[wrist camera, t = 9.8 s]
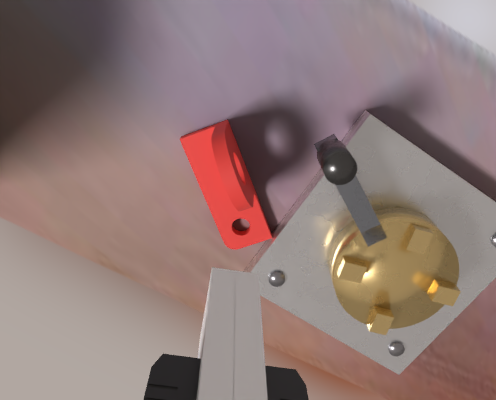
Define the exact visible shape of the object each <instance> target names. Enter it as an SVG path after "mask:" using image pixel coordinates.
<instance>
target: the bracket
mask: <svg viewBox="0 0 496 400" xmlns="http://www.w3.org/2000/svg"><path fill="white" fill-rule="evenodd" d="M180 141H181V143H182V146H183V148H184V150H185V153H186V155H187V157H188V160H189V162H190V164H191V167H192V169H193V171H194V174H195V176H196V178H197V181H198V183H199V185H200V188H201V190H202V192H203V195H204V197H205V199H206V202H207V204H208V206H209V209H210V211H211V213H212V216H213V218H214V220H215V223H216V225H217V227H218V230H219V232H220V234H221V237H222V239H223V241H224V243H225V245H226V246H227V247H228V248H231V249H240V248H243V247H246V246H249V245H252V244H255V243H258V242H261V241H265V240H268V239H271V238H272V233H271V230H270V228H269V225H268V223H267V220H266V217H265V215H264V212H263V210H262V207H261V204H260V202H259V199H258V197H257V194H256V191H255V189H254V186H253V184H252V181H251V178H250V176H249V173H248V171H247V168H246V166H245V163H244V160H243V158H242V155H241V153H240V150H239V147H238V145H237V142H236V140H235V137H234V134H233V132H232V129H231V127H230V124H229V121H228V120H225V121H223V122H220V123H217V124H214V125H212V126H209V127H206V128H203V129H201V130H198V131H195V132H192V133H190V134H187V135H184V136H181V138H180ZM240 218H242V219H246V220H247V221H248V222H249V223H250V227H249V228H248V229H247V230H245V231H238V230H236V229H235V228H234V227H233V225H232V223H233V222H234V221H235V220H236V219H240Z"/></svg>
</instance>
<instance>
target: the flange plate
mask: <svg viewBox="0 0 496 400" xmlns="http://www.w3.org/2000/svg"><path fill="white" fill-rule="evenodd" d="M341 142H342V143H343V144H344V145H345V146H346V148H347V149H348V151H349V152H350V154H351V155H352V156H353V158H354V159H355V161H356V163H357V173H356V177H357V179H358V181H359V183H360V185H361V187H362V189H363V190H364V192H365V194H366V196H367V198H368V200H369V202H370V204H371V206H372V208H373V210H376V209H381V208H389V207H398V208H406V209H410V210H413V211H416V212H418V213H420V214H422V215H424V216H426V217H427V218H429V219H430V220H431V221H432V222H433V223H434V224H435V225H436V226H437V227H438V228H439V229H440V231H441V232H442V233H443V234H444V235H445V236H446V238H447V239H448V240H449V241H450V243H451V244H452V245H453V247H454V249H455V251H456V254H457V256H458V261H459V278H458V282H457V285H456V286H457V287H458V288H459V290H460V291H461V292H460V294H459V296H458V298H457V300H456V302H455V304H454V306H449V305H444V306H443V307H442V308H441V309H440V310H439V311H438V312H436V313H435V314H434V315H432V316H431V317H429V318H428V319H426V320H424V321H422V322H420V323H417V324H415V325H412V326H408V327H404V328H397V329H389V330H388V332H387V334H386V335H382V334H378V333H374V332H370V331H369V329H368V327H367V325H366V324H364V323H361V322H359V321H358V320H356V319H354V318H353V317H352V316H351V315H349V314H348V313H347V312H346V311H345V310H344V308H343V307H342V305H341V304H340V302H339V300H338V298H337V296H336V292H335V289H334V286H333V282H332V279H331V275H330V271H329V257H330V252H331V249H332V246H333V244H334V242H335V240H336V238H337V236H338V235H339V234H340V232H341V231H342V230H343V229H344V228H345V227H346V226H347V225H348V224H349V223H350V222H352V221H353V220H354V219H353V217H352V215H351V213H350V212H349V210H348V208H347V206H346V204H345V202H344V200H343V198H342V196H341V195H340V193H339V191H338V189H337V187H336V185H335V184H332V183H331V182H329V181H328V180H327V179H326V177H325V175H324V173H323V170H322V168H321V169H320V170H319V172H318V173H317V174H316V176H315V177H314V178H313V180H312V181H311V182H310V184H309V185H308V186H307V188H306V189H305V190H304V192H303V193H302V194H301V196H300V197H299V198H298V200H297V201H296V202H295V204H294V205H293V206H292V208H291V209H290V210H289V212H288V213H287V214H286V215H285V217H284V218H283V219H282V221H281V222H280V223H279V225H278V226H277V227H276V229H275V230H274V231H273V233H272V238H271V239H268V240H267V241H266V242H265V243H264V245H263V246H262V247H261V249H260V250H259V251H258V253H257V254H256V255H255V257H254V258H253V259H252V261H251V262H250V263H249V265H248V266H247V267H246V269H245V270H244V271H243V272H248V273H255V274H259V288H260V295H261V296H263V297H264V298H266V299H268V300H270V301H271V302H273V303H275V304H277V305H278V306H280V307H282V308H284V309H285V310H287V311H289V312H290V313H292V314H294V315H296V316H297V317H299V318H301V319H303V320H304V321H306V322H308V323H310V324H311V325H313V326H315V327H317V328H318V329H320V330H322V331H324V332H325V333H327V334H329V335H331V336H332V337H334V338H336V339H338V340H339V341H341V342H343V343H345V344H346V345H348V346H350V347H352V348H353V349H355V350H357V351H358V352H360V353H362V354H364V355H365V356H367V357H369V358H371V359H372V360H374V361H376V362H378V363H379V364H381V365H383V366H385V367H386V368H388V369H390V370H392V371H393V372H395V373H397V374H400V373H401V372H402V371H403V370H404V369H405V368H406V367H407V366H408V365H409V364H410V363H411V362H412V361H413V360H414V359H415V358H416V357H417V356H418V355H419V354H420V353H421V352H422V351H423V350H424V349H425V348H426V347H427V346H428V345H429V344H430V343H431V342H432V341H433V340H434V339H435V338H436V337H437V336H438V335H439V334H440V333H441V332H442V331H443V330H444V329H445V328H446V327H447V326H448V325H449V324H450V323H451V322H452V321H453V320H454V319H455V318H456V317H457V316H458V315H459V314H460V313H461V312H462V311H463V310H464V309H465V308H466V307H467V306H468V305H469V304H470V303H471V302H472V301H473V300H474V299H475V298H476V297H477V296H478V295H479V294H480V293H481V292H482V291H483V290H484V289H485V288H486V287H487V286H488V285H489V284H490V283H491V282H492V281H493V280H494V279H495V278H496V201H494V200H493V199H491V198H490V197H489V196H487V195H486V194H484V193H483V192H481V191H480V190H479V189H477V188H476V187H474V186H473V185H471V184H470V183H469V182H467V181H466V180H464V179H463V178H461V177H460V176H459V175H457V174H456V173H454V172H453V171H452V170H450V169H449V168H447V167H446V166H444V165H443V164H442V163H440V162H439V161H437V160H436V159H434V158H433V157H432V156H430V155H429V154H427V153H426V152H424V151H423V150H422V149H420V148H419V147H417V146H416V145H414V144H413V143H412V142H410V141H409V140H407V139H406V138H405V137H403V136H402V135H400V134H399V133H397V132H396V131H395V130H393V129H392V128H390V127H389V126H387V125H386V124H385V123H383V122H382V121H380V120H379V119H377V118H376V117H375V116H373V115H372V114H370V113H369V112H367V111H366V110H365V111H364V112H363V113H362V115H361V116H360V117H359V119H358V120H357V121H356V123H355V124H354V125H353V127H352V128H351V129H350V130H349V132H348V133H347V134H346V136H345V137H344V138H343V140H342V141H341Z"/></svg>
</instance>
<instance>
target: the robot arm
mask: <svg viewBox="0 0 496 400" xmlns="http://www.w3.org/2000/svg"><path fill="white" fill-rule="evenodd" d="M144 400H308V395H307V389H306V385H305V383H304V382H303V380H302V378H301V377H300V376H299V374H298V372H297V371H296V370H295V369H287V368H278V367H271V366H265V357H264V343H263V329H262V315H261V302H260V288H259V274H255V273H248V272H241V271H234V270H227V269H221V268H214V267H212V271H211V277H210V283H209V288H208V294H207V300H206V306H205V312H204V318H203V324H202V329H201V335H200V344H199V352H198V358H191V357H184V356H176V355H169V354H163V355H162V356H161V357H160V358H159V359H158V360H157V361H156V362H155V364H154V365H153V366H152V367H151V371H150V375H149V379H148V383H147V387H146V392H145V396H144Z"/></svg>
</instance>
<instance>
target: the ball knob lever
mask: <svg viewBox="0 0 496 400" xmlns="http://www.w3.org/2000/svg"><path fill="white" fill-rule="evenodd" d="M314 145H315V147H316V149H317V159H318V161H319V163H320V166H321V168H322V170H323V173H324V175H325V177H326V179H327V180H328V181H329V182H331V183H332V184H335V185H336V187H337V189H338V191H339V193H340V195H341V196H342V198H343V200H344V202H345V204H346V206H347V208H348V210H349V212H350V213H351V215H352V217H353V219H354V220H353V221H352V222H350V223H349V224H348V225H347V226H346V227H345V228H344V229H343V230H342V231H341V232H340V234H339V235H338V236H337V238H336V240H335V242H334V244H333V246H332V249H331V252H330V257H329V271H330V275H331V279H332V282H333V286H334V289H335V292H336V296H337V298H338V300H339V302H340V304H341V305H342V307H343V308H344V310H345V311H346V312H347V313H348V314H349V315H351V316H352V317H353V318H354V319H356V320H358V321H359V322H361V323H364V324H366V325H367V327H368V329H369V331H370V332H374V333H378V334H382V335H386V334H387V332H388V330H389V329H397V328H404V327H408V326H412V325H415V324H417V323H420V322H422V321H424V320H426V319H428V318H429V317H431V316H432V315H434V314H435V313H436V312H438V311H439V310H440V309H441V308H442V307H443V306H444V305H449V306H454V304H455V302H456V300H457V298H458V296H459V294H460V292H461V291H460V290H459V288H458V287H457V286H456V285H457V282H458V278H459V261H458V256H457V254H456V251H455V249H454V247H453V245H452V244H451V243H450V241H449V240H448V239H447V238H446V236H445V235H444V234H443V233H442V232H441V231H440V229H439V228H438V227H437V226H436V225H435V224H434V223H433V222H432V221H431V220H430V219H429V218H427V217H426V216H424V215H422V214H420V213H418V212H416V211H413V210H410V209H406V208H398V207H389V208H381V209H376V210H373V208H372V206H371V204H370V202H369V200H368V198H367V196H366V194H365V192H364V190H363V189H362V187H361V185H360V183H359V181H358V179H357V177H356V173H357V163H356V161H355V159H354V158H353V156H352V155H351V154H350V152H349V151H348V149H347V148H346V146H345V145H344V144H343V143H342V142H341V141H339V140H338V139H337V138H336V136H335V135H334V134H333V135H331V136H329V137H327V138H325V139H323V140H321V141H319V142H318V143H316V144H314Z"/></svg>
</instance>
